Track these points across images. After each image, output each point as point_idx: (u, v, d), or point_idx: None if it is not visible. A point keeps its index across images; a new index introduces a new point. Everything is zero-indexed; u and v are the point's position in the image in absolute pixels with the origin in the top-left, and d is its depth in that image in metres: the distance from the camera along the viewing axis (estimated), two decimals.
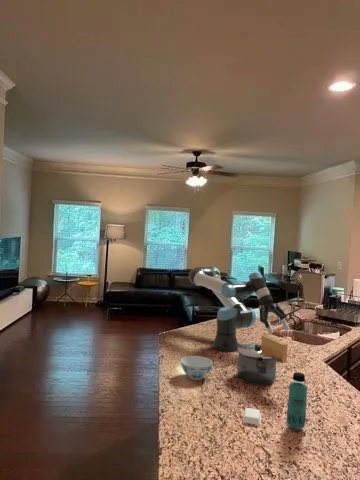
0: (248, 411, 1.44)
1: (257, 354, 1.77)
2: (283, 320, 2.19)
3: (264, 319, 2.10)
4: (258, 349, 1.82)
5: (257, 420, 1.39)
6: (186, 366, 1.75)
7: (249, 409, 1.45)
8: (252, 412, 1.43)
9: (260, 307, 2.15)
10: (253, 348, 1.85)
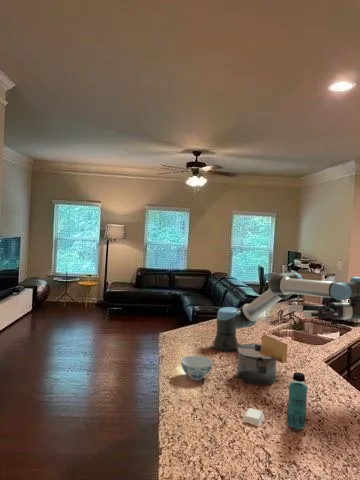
0: (250, 411, 1.44)
1: (257, 354, 1.77)
2: (301, 309, 1.80)
3: (322, 317, 1.65)
4: (258, 349, 1.82)
5: (257, 420, 1.38)
6: (186, 366, 1.75)
7: (251, 409, 1.45)
8: (253, 412, 1.43)
9: (335, 314, 1.68)
10: (253, 348, 1.85)
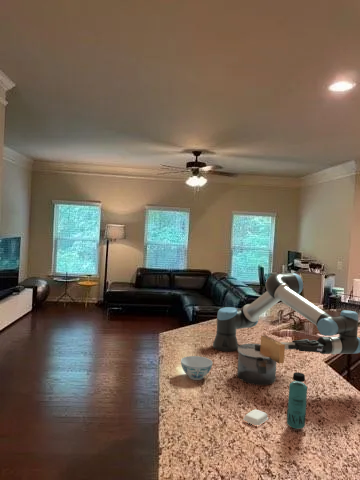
0: (253, 411, 1.44)
1: (256, 354, 1.77)
2: None
3: None
4: (258, 349, 1.82)
5: (255, 421, 1.38)
6: (186, 366, 1.75)
7: (255, 410, 1.45)
8: (255, 413, 1.42)
9: (318, 349, 1.67)
10: (253, 348, 1.85)
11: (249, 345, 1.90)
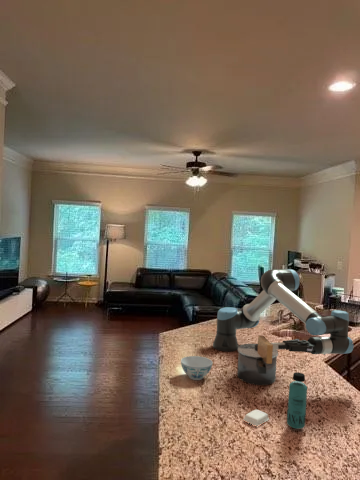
0: (254, 412, 1.43)
1: (251, 353, 1.78)
2: None
3: None
4: (257, 349, 1.83)
5: (255, 421, 1.38)
6: (186, 366, 1.75)
7: (256, 410, 1.44)
8: (256, 413, 1.42)
9: (308, 350, 1.66)
10: (254, 348, 1.86)
11: (253, 345, 1.91)
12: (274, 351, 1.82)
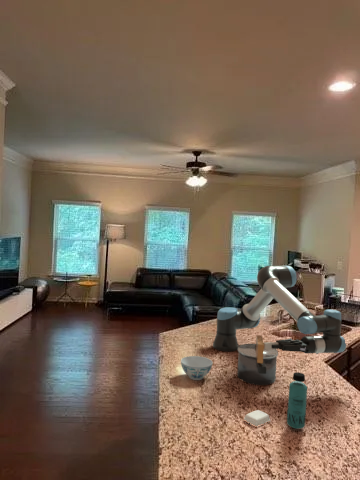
0: (255, 412, 1.43)
1: (248, 352, 1.79)
2: None
3: None
4: (256, 349, 1.83)
5: (254, 421, 1.38)
6: (186, 366, 1.75)
7: (257, 411, 1.44)
8: (256, 414, 1.42)
9: (301, 349, 1.67)
10: (255, 348, 1.86)
11: (255, 345, 1.91)
12: (274, 352, 1.81)
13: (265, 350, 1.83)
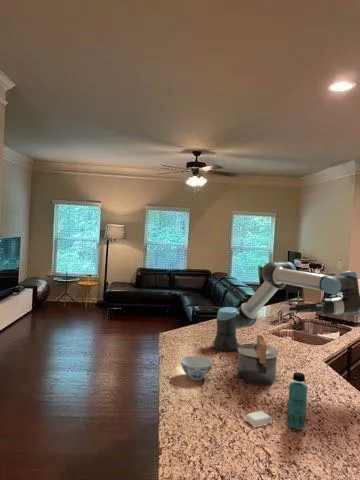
0: (257, 413, 1.43)
1: (249, 352, 1.78)
2: None
3: (300, 310, 1.78)
4: (256, 349, 1.83)
5: (253, 421, 1.38)
6: (186, 366, 1.75)
7: (260, 412, 1.43)
8: (258, 414, 1.41)
9: (317, 305, 1.75)
10: (255, 348, 1.86)
11: (255, 345, 1.91)
12: (274, 352, 1.81)
13: None
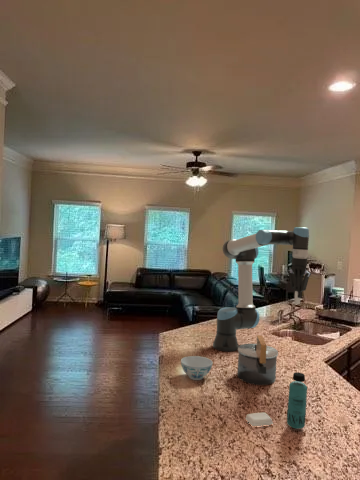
0: (259, 413, 1.42)
1: (249, 352, 1.78)
2: None
3: (292, 287, 1.96)
4: (256, 349, 1.83)
5: (252, 421, 1.38)
6: (186, 366, 1.75)
7: (262, 413, 1.43)
8: (259, 415, 1.41)
9: None
10: (255, 348, 1.86)
11: (255, 345, 1.91)
12: (274, 352, 1.81)
13: None
